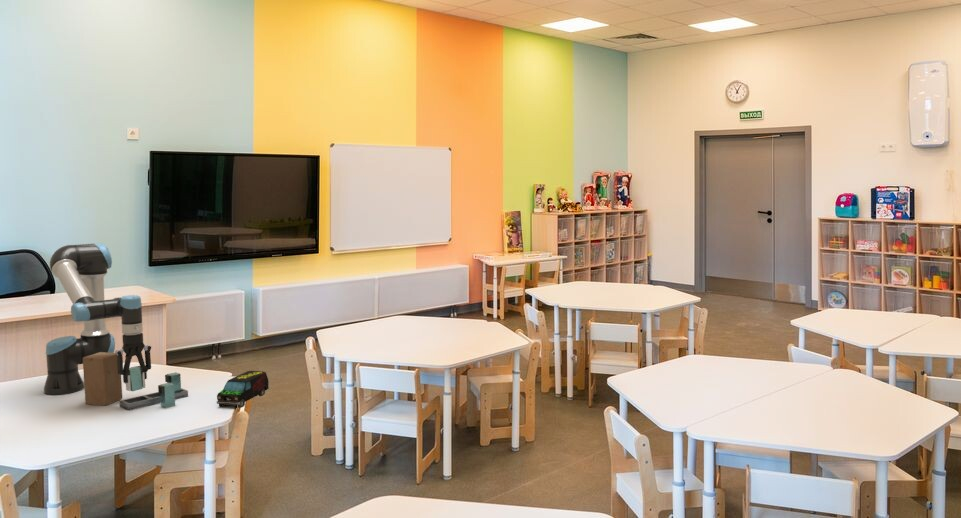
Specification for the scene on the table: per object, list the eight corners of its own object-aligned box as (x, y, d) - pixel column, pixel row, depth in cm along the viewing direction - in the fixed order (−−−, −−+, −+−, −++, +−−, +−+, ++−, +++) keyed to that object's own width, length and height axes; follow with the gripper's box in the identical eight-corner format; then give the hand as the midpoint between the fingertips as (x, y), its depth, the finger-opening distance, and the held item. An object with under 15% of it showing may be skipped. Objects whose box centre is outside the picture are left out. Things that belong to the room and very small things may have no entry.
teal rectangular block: (128, 389, 283) (125, 368, 281) (140, 386, 286) (138, 365, 285) (132, 391, 280) (130, 370, 279) (145, 388, 284) (142, 367, 282)
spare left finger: (158, 406, 283) (157, 385, 282) (170, 403, 286) (169, 382, 286) (163, 408, 280) (162, 386, 279) (175, 405, 284) (174, 384, 283)
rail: (119, 406, 282) (118, 382, 281) (179, 392, 301) (178, 370, 300) (128, 410, 277) (126, 386, 276) (188, 396, 296) (187, 373, 295)
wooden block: (105, 405, 283) (103, 358, 281) (84, 404, 285) (82, 357, 283) (122, 398, 293) (120, 352, 291) (102, 397, 295) (99, 351, 293)
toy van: (215, 408, 281) (214, 384, 280) (248, 390, 305) (247, 368, 304) (239, 409, 279) (238, 385, 278) (270, 392, 303) (269, 370, 302)
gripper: (113, 338, 271) (116, 395, 274) (159, 331, 285) (161, 385, 287) (105, 335, 276) (108, 391, 278) (150, 328, 290) (153, 382, 292)
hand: (135, 388), depth 283 cm, fingers closed on teal rectangular block, 5 cm apart
